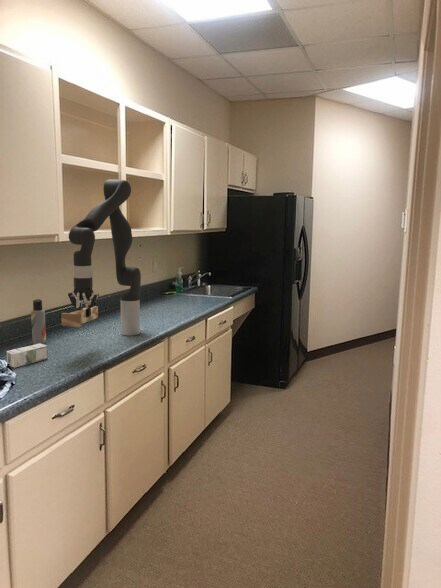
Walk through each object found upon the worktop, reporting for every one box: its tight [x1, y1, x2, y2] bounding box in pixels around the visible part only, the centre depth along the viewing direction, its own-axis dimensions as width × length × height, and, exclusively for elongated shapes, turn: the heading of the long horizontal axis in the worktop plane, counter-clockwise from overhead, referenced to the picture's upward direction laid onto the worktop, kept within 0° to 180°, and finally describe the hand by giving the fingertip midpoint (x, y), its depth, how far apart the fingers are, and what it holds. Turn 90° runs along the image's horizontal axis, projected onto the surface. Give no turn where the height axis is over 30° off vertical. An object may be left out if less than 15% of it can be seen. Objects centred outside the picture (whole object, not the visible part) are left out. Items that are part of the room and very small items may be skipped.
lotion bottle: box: [30, 298, 47, 345], centre depth 206 cm, size 6×6×20 cm
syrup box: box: [6, 343, 49, 368], centre depth 181 cm, size 6×6×14 cm
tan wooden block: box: [60, 305, 99, 328], centre depth 191 cm, size 20×8×5 cm, turn 167°
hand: (84, 316), depth 192 cm, fingers closed on tan wooden block, 3 cm apart
